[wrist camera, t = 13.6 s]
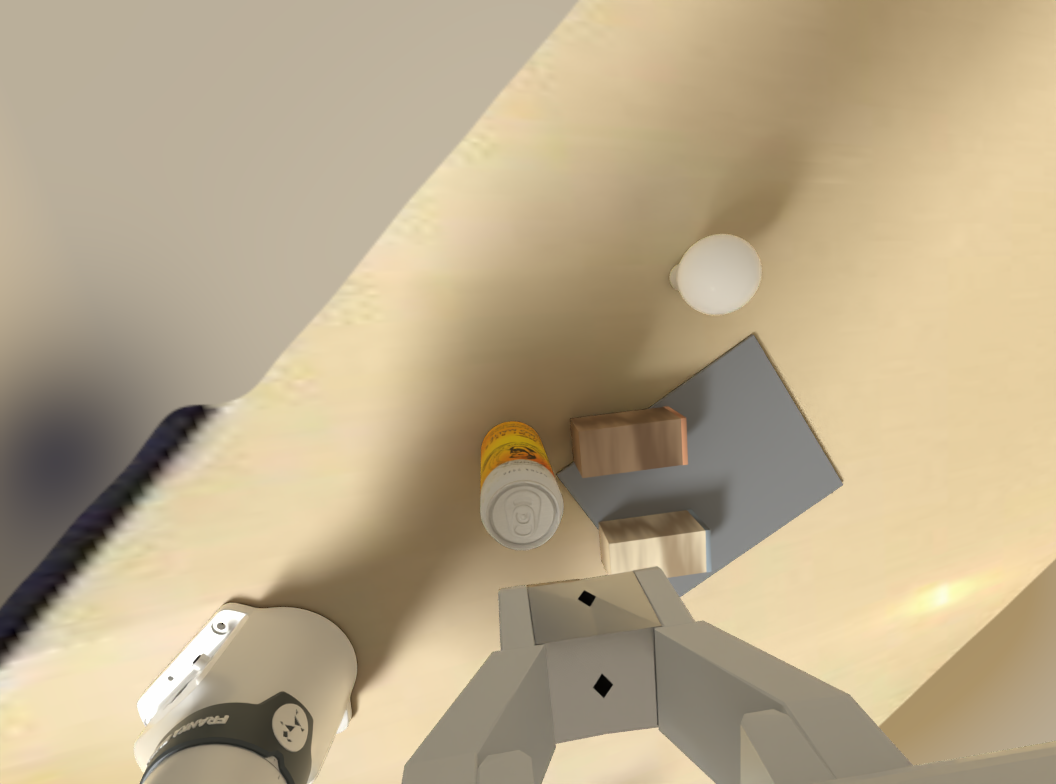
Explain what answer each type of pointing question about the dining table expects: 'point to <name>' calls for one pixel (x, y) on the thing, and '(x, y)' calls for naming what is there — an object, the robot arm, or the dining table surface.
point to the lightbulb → (718, 274)
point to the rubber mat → (723, 462)
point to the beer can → (518, 488)
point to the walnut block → (629, 441)
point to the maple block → (656, 544)
